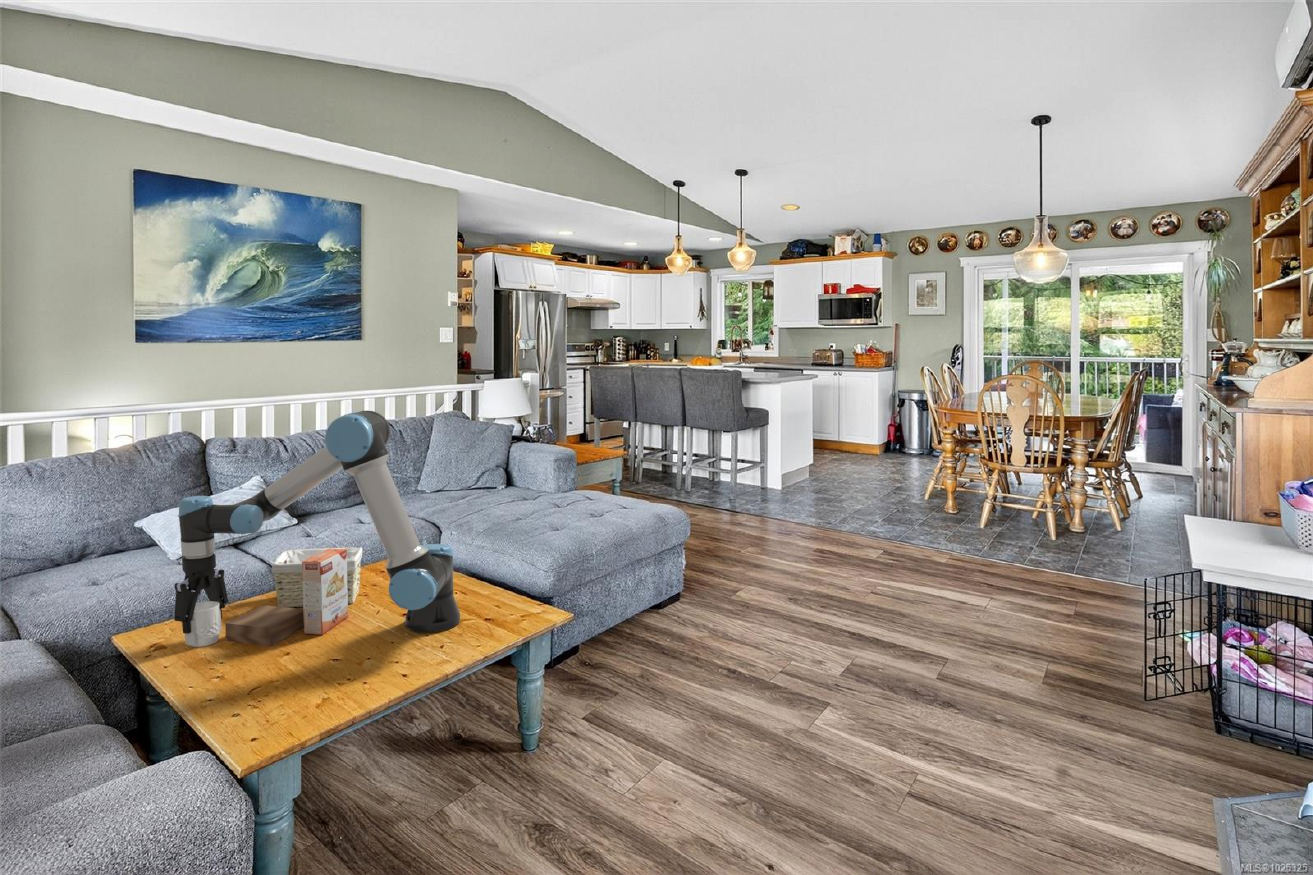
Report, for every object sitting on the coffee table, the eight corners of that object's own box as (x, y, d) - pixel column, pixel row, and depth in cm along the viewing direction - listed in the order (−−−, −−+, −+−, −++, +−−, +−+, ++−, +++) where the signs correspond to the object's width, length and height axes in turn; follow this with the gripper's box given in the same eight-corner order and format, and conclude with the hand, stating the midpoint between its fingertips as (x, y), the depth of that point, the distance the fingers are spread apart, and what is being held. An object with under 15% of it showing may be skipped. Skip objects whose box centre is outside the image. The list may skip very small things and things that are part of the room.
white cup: (184, 650, 186) (182, 613, 185) (188, 639, 193) (186, 603, 192) (220, 644, 189) (218, 608, 188) (222, 634, 196) (220, 599, 195)
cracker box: (324, 635, 196) (320, 562, 194) (303, 634, 197) (299, 561, 194) (350, 617, 210) (347, 548, 208) (330, 616, 211) (327, 547, 208)
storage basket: (365, 588, 236) (363, 545, 234) (357, 605, 220) (356, 559, 218) (285, 594, 229) (283, 549, 228) (272, 611, 214) (269, 564, 212)
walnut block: (307, 626, 203) (306, 609, 202) (271, 646, 189) (270, 628, 189) (264, 622, 206) (263, 605, 205) (226, 641, 192) (225, 623, 191)
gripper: (217, 543, 199) (222, 622, 202) (152, 564, 179) (158, 651, 182) (240, 545, 197) (245, 625, 200) (177, 567, 178) (183, 655, 180)
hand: (203, 637), depth 191 cm, fingers closed on white cup, 8 cm apart
